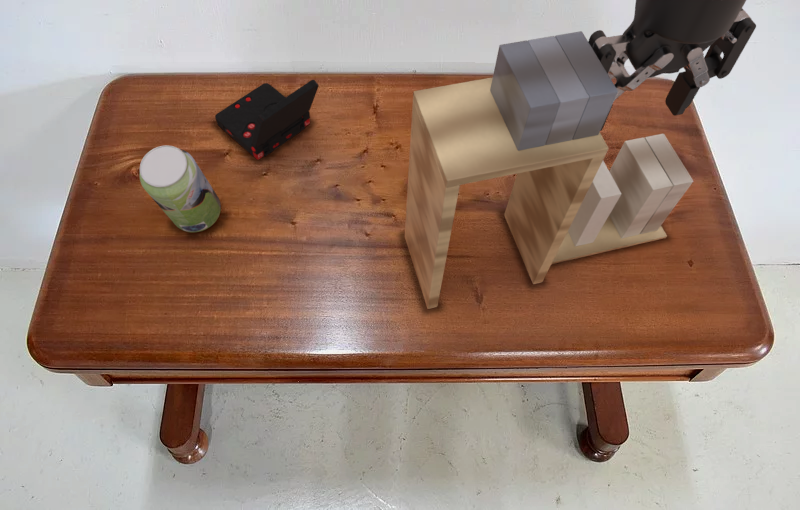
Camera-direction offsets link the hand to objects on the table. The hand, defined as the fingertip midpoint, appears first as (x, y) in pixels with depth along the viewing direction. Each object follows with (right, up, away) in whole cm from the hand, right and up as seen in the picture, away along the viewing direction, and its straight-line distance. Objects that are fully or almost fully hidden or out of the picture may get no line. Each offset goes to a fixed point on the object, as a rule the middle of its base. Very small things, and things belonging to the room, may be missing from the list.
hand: (633, 116), depth 58 cm
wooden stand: (-14, -14, +14) cm, 24 cm away
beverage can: (-47, -9, +16) cm, 51 cm away
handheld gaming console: (-40, +3, +23) cm, 46 cm away
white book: (-1, -9, +16) cm, 19 cm away
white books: (+1, -9, +17) cm, 19 cm away
